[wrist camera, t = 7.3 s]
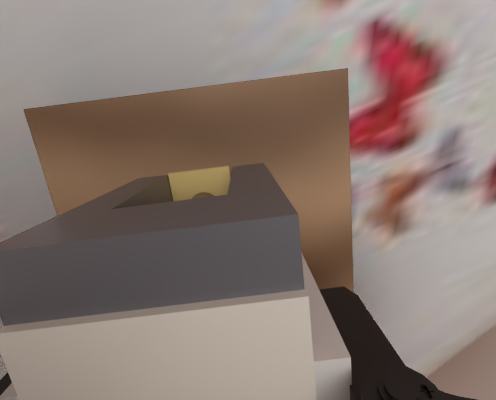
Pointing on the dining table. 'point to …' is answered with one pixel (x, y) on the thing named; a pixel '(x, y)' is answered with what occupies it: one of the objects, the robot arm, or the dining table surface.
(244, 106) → the board
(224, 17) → the dining table surface
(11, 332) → the block
